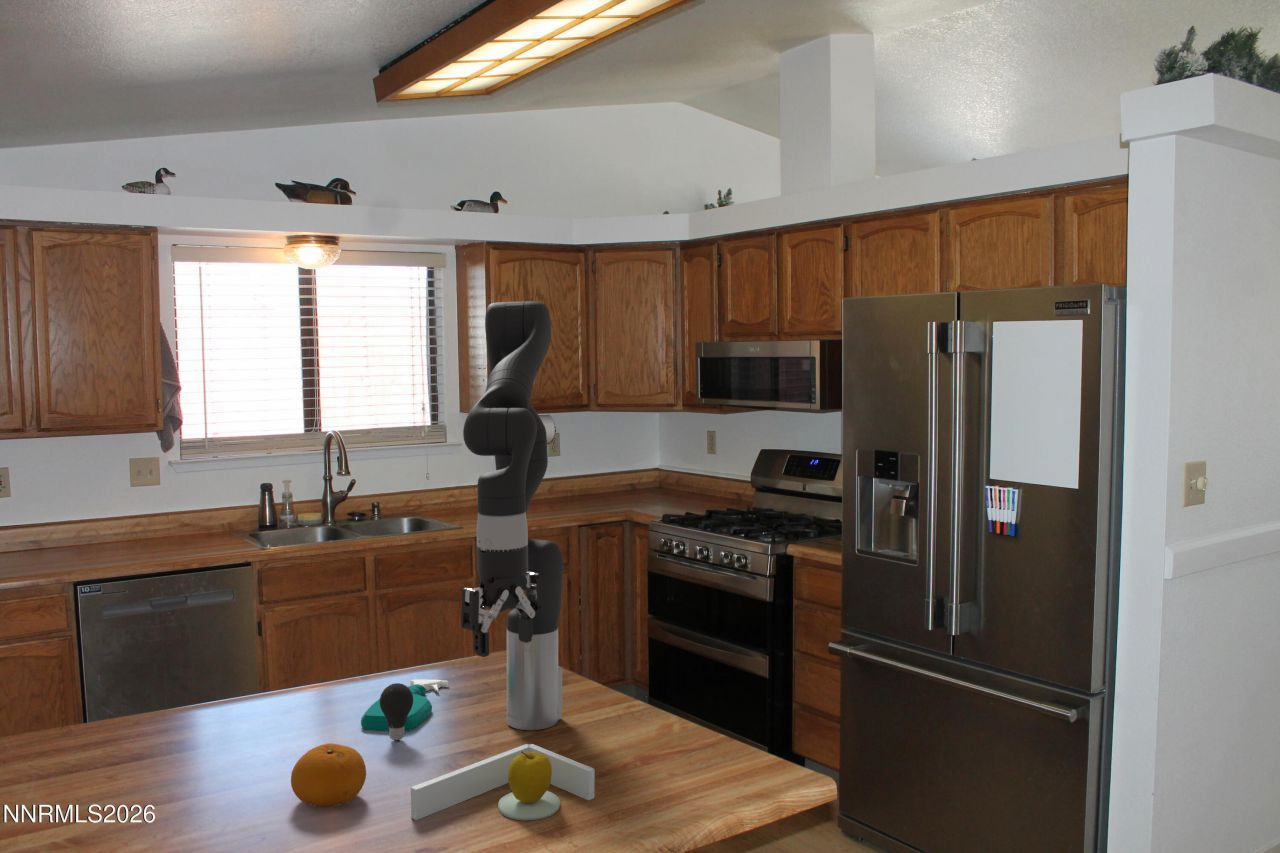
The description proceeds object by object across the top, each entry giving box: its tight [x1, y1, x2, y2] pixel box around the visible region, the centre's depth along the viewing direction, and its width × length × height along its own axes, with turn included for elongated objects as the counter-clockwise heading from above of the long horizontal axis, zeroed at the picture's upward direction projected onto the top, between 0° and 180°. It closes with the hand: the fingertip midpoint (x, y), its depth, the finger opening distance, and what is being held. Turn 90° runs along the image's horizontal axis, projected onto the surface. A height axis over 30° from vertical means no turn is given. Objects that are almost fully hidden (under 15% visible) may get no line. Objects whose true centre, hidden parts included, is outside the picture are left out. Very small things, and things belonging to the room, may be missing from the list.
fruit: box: [290, 743, 367, 808], centre depth 151 cm, size 10×10×8 cm
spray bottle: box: [360, 678, 449, 733], centre depth 191 cm, size 3×11×24 cm
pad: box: [497, 790, 561, 822], centre depth 150 cm, size 9×9×1 cm
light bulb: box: [379, 682, 413, 743], centre depth 174 cm, size 6×6×10 cm
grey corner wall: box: [410, 743, 596, 821], centre depth 150 cm, size 23×15×4 cm, turn 138°
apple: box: [508, 751, 552, 803], centre depth 150 cm, size 6×6×8 cm
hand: (504, 648), depth 153 cm, fingers open, 8 cm apart
